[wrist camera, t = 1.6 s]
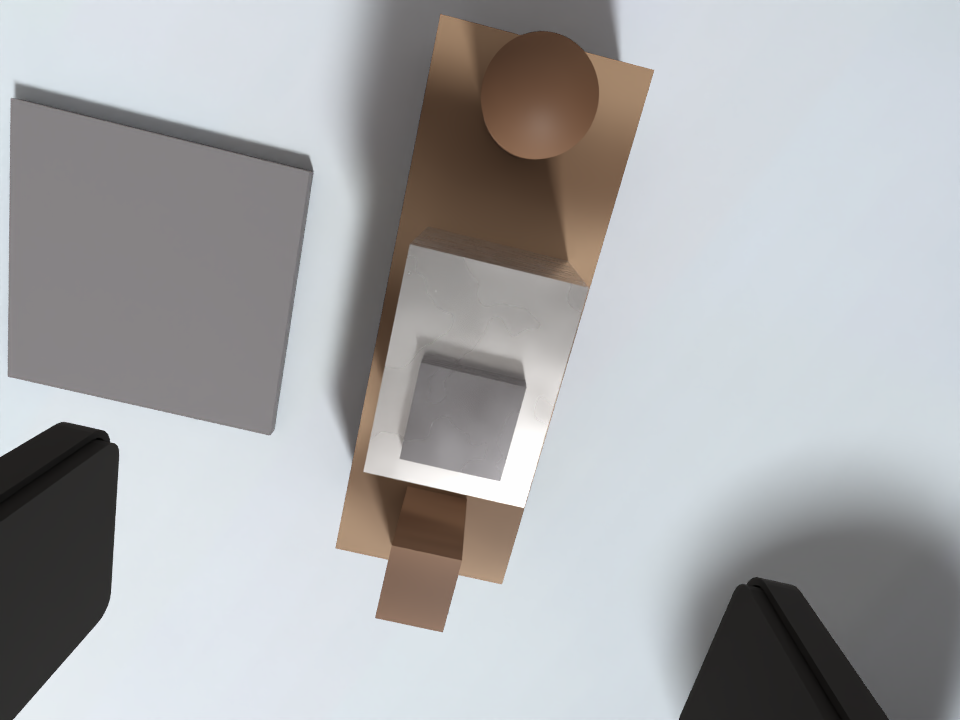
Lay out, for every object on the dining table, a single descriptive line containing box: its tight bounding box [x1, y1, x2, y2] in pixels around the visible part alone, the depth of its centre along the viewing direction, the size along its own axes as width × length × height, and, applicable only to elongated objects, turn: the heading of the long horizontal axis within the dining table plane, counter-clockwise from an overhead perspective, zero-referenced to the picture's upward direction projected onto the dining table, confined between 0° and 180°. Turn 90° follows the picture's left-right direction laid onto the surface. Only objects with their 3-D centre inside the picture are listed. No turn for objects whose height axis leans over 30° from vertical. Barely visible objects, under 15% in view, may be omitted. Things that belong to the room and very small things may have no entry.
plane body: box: [336, 14, 654, 632], centre depth 23 cm, size 20×7×9 cm, turn 167°
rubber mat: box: [8, 98, 313, 435], centre depth 27 cm, size 12×12×1 cm
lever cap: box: [363, 227, 589, 508], centre depth 20 cm, size 7×5×6 cm
